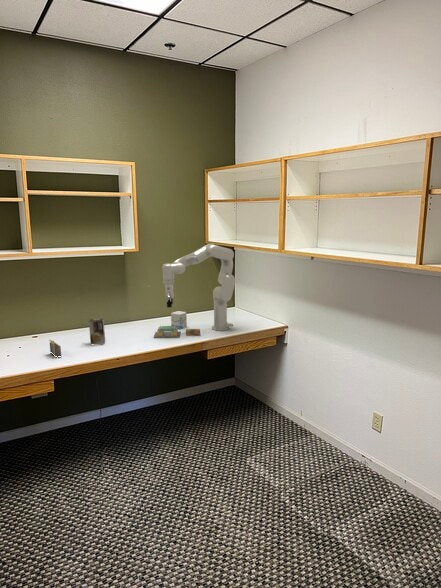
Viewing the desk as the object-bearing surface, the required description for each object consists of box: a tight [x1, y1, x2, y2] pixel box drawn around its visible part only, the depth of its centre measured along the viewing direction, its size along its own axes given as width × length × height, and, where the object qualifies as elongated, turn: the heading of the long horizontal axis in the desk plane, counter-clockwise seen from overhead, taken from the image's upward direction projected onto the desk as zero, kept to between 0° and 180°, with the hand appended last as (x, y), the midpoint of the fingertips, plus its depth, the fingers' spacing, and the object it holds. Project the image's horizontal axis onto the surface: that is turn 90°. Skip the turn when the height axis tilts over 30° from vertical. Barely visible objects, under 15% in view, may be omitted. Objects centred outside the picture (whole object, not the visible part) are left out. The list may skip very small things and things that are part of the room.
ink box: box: [170, 310, 188, 330], centre depth 318 cm, size 8×8×12 cm
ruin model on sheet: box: [48, 339, 62, 357], centre depth 258 cm, size 11×3×10 cm, turn 41°
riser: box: [185, 328, 201, 337], centre depth 299 cm, size 10×4×4 cm, turn 92°
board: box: [158, 325, 176, 332], centre depth 298 cm, size 12×7×2 cm, turn 92°
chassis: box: [153, 325, 182, 339], centre depth 298 cm, size 18×12×6 cm, turn 92°
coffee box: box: [88, 318, 106, 345], centre depth 281 cm, size 9×6×16 cm
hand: (170, 305), depth 296 cm, fingers open, 9 cm apart
